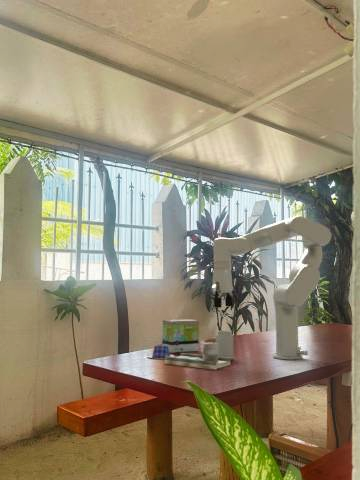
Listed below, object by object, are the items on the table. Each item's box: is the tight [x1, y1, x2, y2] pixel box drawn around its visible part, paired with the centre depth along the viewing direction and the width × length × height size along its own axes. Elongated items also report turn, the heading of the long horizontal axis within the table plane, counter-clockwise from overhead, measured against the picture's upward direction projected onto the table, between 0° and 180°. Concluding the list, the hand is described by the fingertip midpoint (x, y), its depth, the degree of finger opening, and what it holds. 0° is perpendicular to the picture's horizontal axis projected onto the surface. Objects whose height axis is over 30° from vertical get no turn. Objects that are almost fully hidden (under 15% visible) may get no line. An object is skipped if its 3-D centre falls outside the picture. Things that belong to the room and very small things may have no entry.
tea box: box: [161, 318, 200, 354], centre depth 215 cm, size 15×10×15 cm
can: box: [215, 330, 234, 361], centre depth 189 cm, size 8×8×12 cm
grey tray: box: [164, 342, 231, 370], centre depth 177 cm, size 23×12×8 cm, turn 56°
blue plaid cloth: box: [147, 344, 176, 360], centre depth 195 cm, size 12×12×5 cm
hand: (223, 306), depth 190 cm, fingers open, 9 cm apart
